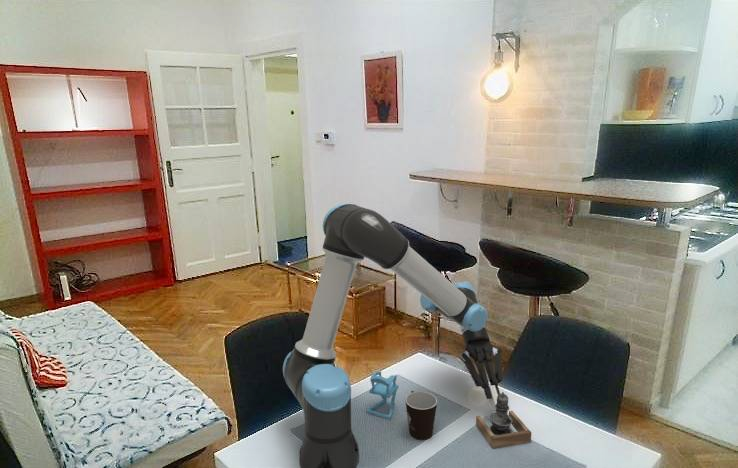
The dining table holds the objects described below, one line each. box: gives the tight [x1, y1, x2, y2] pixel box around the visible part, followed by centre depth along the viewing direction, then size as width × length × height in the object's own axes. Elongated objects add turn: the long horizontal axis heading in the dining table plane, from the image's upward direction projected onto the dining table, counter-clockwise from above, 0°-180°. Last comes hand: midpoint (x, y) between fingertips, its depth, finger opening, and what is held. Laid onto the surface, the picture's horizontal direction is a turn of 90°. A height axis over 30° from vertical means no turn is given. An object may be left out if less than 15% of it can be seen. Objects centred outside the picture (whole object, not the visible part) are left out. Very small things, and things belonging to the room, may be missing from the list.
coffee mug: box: [404, 390, 438, 441], centre depth 125 cm, size 12×9×10 cm
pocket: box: [475, 410, 532, 450], centre depth 123 cm, size 10×11×3 cm
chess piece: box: [489, 391, 512, 435], centre depth 123 cm, size 6×6×12 cm
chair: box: [366, 370, 399, 421], centre depth 134 cm, size 8×8×12 cm
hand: (497, 410), depth 126 cm, fingers closed
